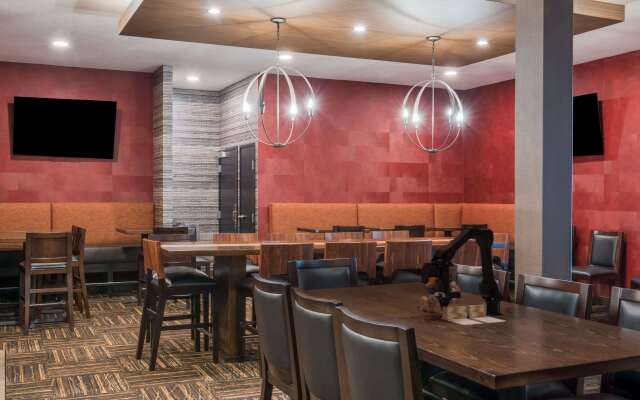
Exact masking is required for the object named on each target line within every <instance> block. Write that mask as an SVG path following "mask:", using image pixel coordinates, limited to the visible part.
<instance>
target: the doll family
mask: <svg viewBox="0 0 640 400" xmlns="http://www.w3.org/2000/svg"><path fill="white" fill-rule="evenodd" d="M435 279H437V277H435V278H428V282H427V284H426V285H425V287H426V286H428V285H430V284H432V283H434V280H435ZM450 288H451V289H452V291H459V292H460V291H461V289H460V288H459V284H457V283H456V281H452V282H450ZM428 295H429V296H431V295H430V294H428ZM429 296H428V297H429ZM457 299H458V298H453V299H451V301H450V303H449V304H452V303H455V304H457V301H456V300H457Z"/></svg>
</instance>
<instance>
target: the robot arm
mask: <svg viewBox="0 0 640 400" xmlns="http://www.w3.org/2000/svg"><path fill="white" fill-rule="evenodd" d="M494 233H495V232H494V231H493V230H492V229H490V228H476V227H474V226H473V227H471V226H467V227H465V228H464V229H463V230H462V232H460V233H459V234H458V235H457V236H456V237H454V238H453V239H452V240H451V241H450V242H449V243H447V244H445V245H441V246H440V247H438V248H437V249H436V250H435V251H434V255H433V257H432V258H431V259H430V262H427V261H426V262H424V265H423V266H422V267H421V271H420V272H421V276H422V277H423V278H424V279H430V278H436V279H435V280H434V283H432V284H430V285H428V286H426V285H425V287H424V289H425V291H426V294H427V295H433V294H435V296H434V297H436V298H437V299H438V301H439V302H438V304H439V308H440V310H441V313H443V307H449V304H451V303H450V301H451V299H453V298H457V299H461V298H462V294H461V292H460V291H452V289H451V288H452V287H451V288H450V285H451V283H452V282H453V280H452V279H451V267H455V264H454V263H452V260H453V259H454V258H455V256H456V253H457V251H458V250H459V249H461V248H462V247H463V246H464V245H465V244H466V243H467V242H468V241H470V240H471V239H472V238H475V242H476V244H477V246H478V247H479V252H480V253H479V254H480V261H481V262H480V264H481V272H482V273H481V274H482V280H480V281H481V282H478V291H479V293H480V295H481V299H482V300H484V303H486V315H491V316H492V315H493V316H494V315H503V312H501V302H503V301H504V295H503V294H502V293H501V292H500V290H499V285H498V283H497V281H496V280H495V277H494V265H493V256H492V246H493V244H494V242H495V241H494V240H495V234H494Z"/></svg>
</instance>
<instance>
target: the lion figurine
mask: <svg viewBox="0 0 640 400" xmlns="http://www.w3.org/2000/svg"><path fill="white" fill-rule="evenodd" d="M434 296H435V294H433V295H431V296H428V297H427V296H424V295H423V296H421V298H420V304H419V306H417V307H416V309H420V312H423V310H425V306H426V307H427V313H428V314H431V313H435V311H434V308H435V307H436V305H438V304H439V301H438V299H437V298H436V297H434Z"/></svg>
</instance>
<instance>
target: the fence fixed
mask: <svg viewBox="0 0 640 400" xmlns="http://www.w3.org/2000/svg"><path fill="white" fill-rule="evenodd" d="M486 316H487V314H486V303H485V302H481V304H475V305H469V318H474V317H486Z"/></svg>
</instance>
